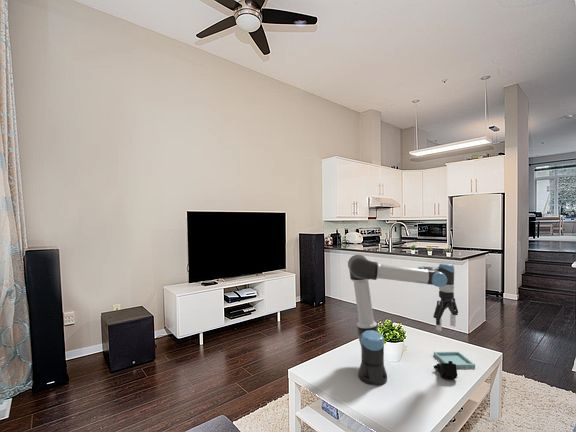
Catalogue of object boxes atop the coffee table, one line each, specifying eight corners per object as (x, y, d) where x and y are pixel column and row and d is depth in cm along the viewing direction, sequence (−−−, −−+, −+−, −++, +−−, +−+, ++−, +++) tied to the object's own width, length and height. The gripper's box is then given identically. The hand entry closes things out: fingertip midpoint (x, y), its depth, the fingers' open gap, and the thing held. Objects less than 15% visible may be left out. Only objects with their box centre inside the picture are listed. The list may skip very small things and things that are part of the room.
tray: (447, 368, 172) (447, 364, 172) (433, 355, 188) (433, 352, 188) (475, 368, 172) (475, 364, 172) (458, 354, 188) (458, 351, 188)
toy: (446, 359, 175) (457, 361, 161) (448, 374, 172) (460, 378, 158) (429, 358, 175) (439, 361, 161) (431, 373, 173) (441, 378, 159)
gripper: (439, 295, 161) (438, 334, 161) (465, 289, 174) (464, 326, 174) (426, 292, 167) (426, 330, 168) (452, 286, 180) (452, 322, 180)
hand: (445, 328), depth 171 cm, fingers open, 13 cm apart
